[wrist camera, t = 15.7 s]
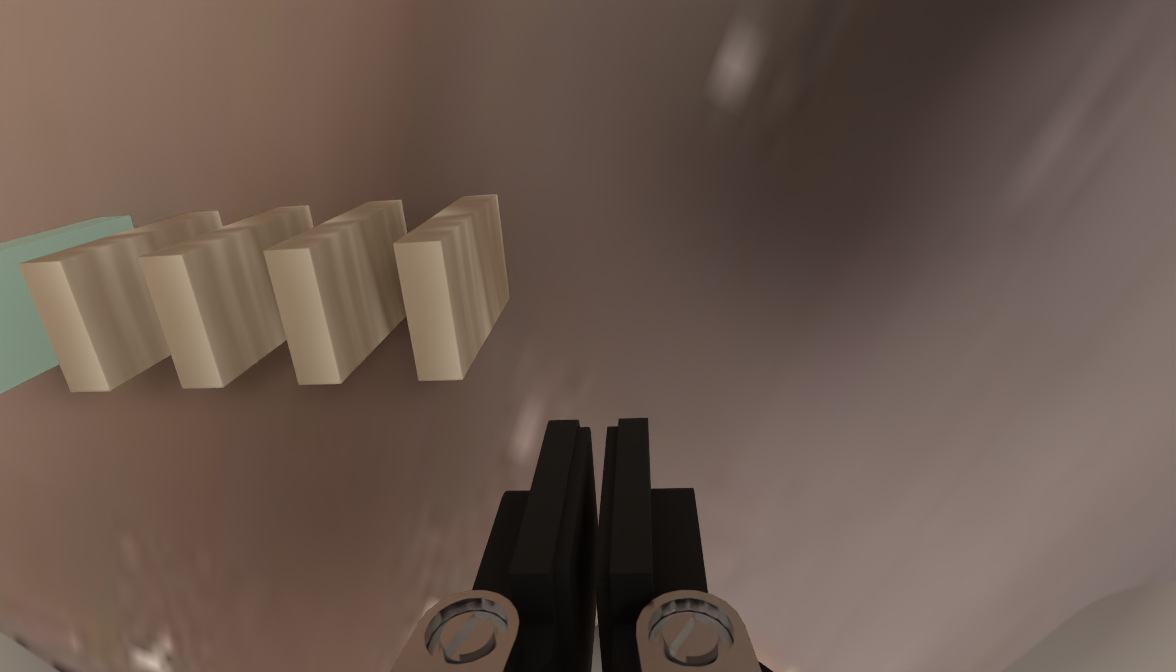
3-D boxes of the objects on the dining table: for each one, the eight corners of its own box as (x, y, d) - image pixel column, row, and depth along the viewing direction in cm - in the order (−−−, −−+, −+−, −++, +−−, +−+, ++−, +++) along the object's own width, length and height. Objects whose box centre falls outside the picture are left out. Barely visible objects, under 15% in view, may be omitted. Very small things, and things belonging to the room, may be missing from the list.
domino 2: (218, 210, 30) (59, 261, 22) (246, 309, 32) (110, 390, 24) (186, 212, 31) (17, 263, 22) (216, 311, 32) (71, 392, 24)
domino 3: (308, 205, 30) (181, 255, 22) (332, 306, 32) (223, 387, 24) (276, 207, 30) (137, 257, 22) (301, 307, 32) (182, 388, 24)
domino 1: (130, 215, 31) (-59, 266, 22) (163, 312, 33) (0, 393, 24) (99, 217, 31) (-100, 269, 23) (133, 313, 33) (-38, 394, 24)
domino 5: (497, 193, 29) (440, 240, 21) (509, 298, 31) (462, 379, 23) (462, 196, 29) (392, 243, 21) (477, 299, 31) (418, 380, 23)
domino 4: (401, 199, 30) (308, 248, 21) (419, 301, 31) (340, 383, 23) (368, 201, 30) (263, 250, 21) (388, 303, 32) (298, 385, 23)
